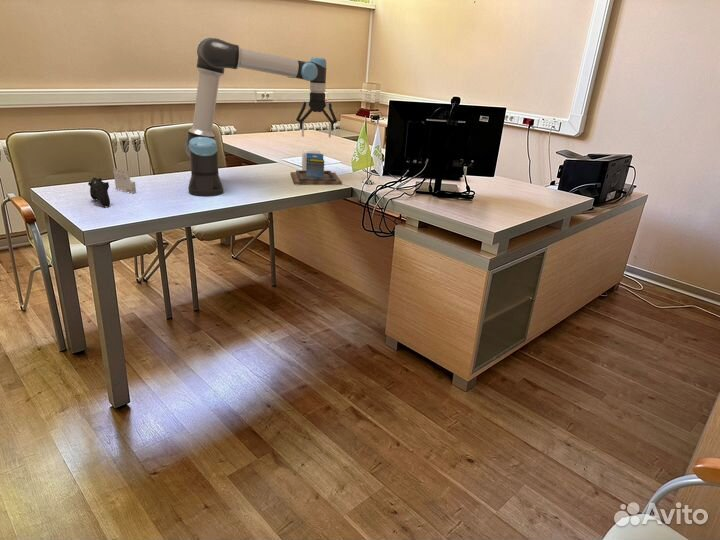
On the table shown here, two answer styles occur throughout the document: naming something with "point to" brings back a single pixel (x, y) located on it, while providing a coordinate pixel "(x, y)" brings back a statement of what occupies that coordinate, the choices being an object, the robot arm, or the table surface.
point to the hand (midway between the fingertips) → (316, 136)
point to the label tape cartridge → (314, 165)
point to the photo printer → (306, 156)
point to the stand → (328, 178)
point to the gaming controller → (99, 191)
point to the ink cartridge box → (124, 181)
